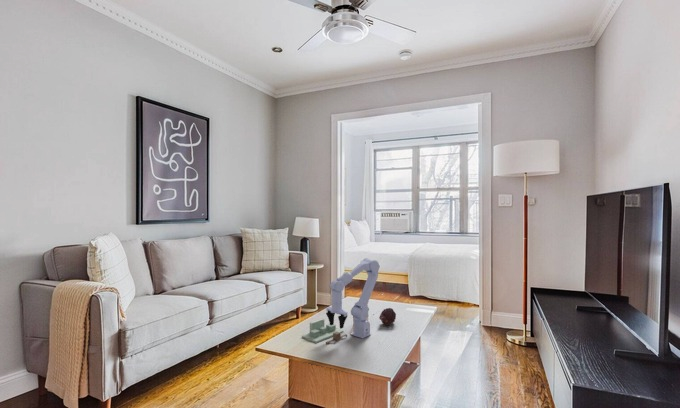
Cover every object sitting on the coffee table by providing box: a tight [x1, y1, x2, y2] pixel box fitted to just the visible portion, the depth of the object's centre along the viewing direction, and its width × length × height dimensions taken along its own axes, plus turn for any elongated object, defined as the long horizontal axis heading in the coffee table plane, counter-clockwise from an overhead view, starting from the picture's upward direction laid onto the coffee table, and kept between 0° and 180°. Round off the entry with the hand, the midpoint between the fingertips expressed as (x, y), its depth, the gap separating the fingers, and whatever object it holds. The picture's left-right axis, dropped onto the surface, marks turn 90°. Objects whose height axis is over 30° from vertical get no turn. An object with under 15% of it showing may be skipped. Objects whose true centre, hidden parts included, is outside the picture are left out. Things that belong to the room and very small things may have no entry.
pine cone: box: [379, 307, 397, 326], centre depth 224 cm, size 18×10×10 cm, turn 153°
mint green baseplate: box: [301, 318, 344, 344], centre depth 205 cm, size 12×22×7 cm, turn 137°
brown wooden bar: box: [325, 332, 348, 345], centre depth 198 cm, size 4×16×4 cm, turn 137°
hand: (336, 326), depth 198 cm, fingers open, 7 cm apart
